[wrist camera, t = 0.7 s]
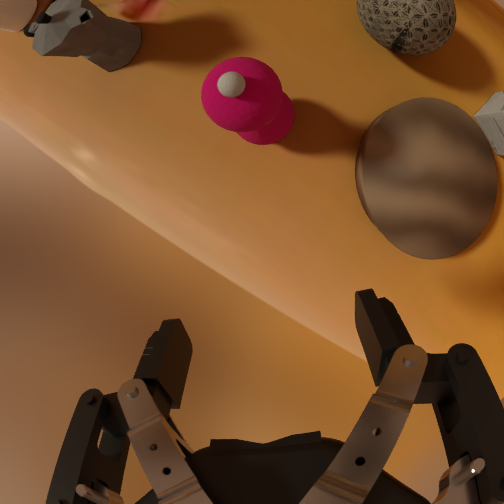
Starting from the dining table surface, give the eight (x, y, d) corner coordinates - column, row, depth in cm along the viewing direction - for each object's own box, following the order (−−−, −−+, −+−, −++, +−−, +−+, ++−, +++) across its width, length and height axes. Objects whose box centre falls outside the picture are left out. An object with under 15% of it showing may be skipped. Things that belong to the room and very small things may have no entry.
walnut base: (365, 85, 30) (374, 76, 25) (486, 130, 28) (505, 130, 23) (341, 231, 37) (347, 243, 32) (460, 258, 35) (475, 270, 30)
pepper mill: (306, 114, 33) (312, 69, 14) (272, 157, 35) (239, 160, 17) (261, 82, 32) (218, 16, 13) (227, 124, 35) (153, 100, 16)
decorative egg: (421, 81, 28) (477, 51, 14) (341, 46, 28) (361, -9, 14) (432, 21, 23) (477, -21, 10) (357, -12, 24) (376, -71, 10)
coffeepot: (162, 21, 30) (91, -27, 13) (141, 75, 34) (56, 47, 17) (92, 25, 31) (20, -1, 14) (74, 71, 34) (-5, 59, 18)
